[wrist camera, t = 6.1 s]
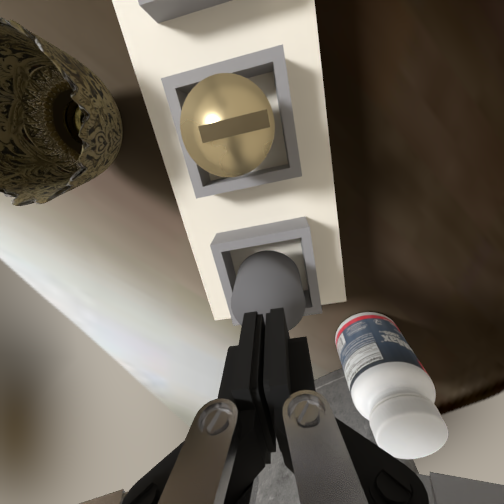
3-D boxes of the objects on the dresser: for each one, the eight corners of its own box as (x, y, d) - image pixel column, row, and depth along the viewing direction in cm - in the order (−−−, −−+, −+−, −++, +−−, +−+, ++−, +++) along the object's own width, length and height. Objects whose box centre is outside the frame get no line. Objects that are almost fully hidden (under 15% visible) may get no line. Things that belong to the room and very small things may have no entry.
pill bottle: (410, 335, 24) (482, 440, 16) (361, 368, 26) (403, 478, 17) (369, 298, 23) (424, 391, 15) (321, 335, 24) (346, 436, 16)
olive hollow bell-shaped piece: (166, 87, 18) (91, 53, 10) (141, 195, 21) (69, 229, 13) (49, 37, 17) (-120, -36, 10) (40, 156, 20) (-95, 169, 13)
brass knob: (186, 96, 13) (164, 86, 10) (265, 75, 12) (264, 58, 9) (208, 176, 14) (194, 186, 11) (280, 160, 13) (282, 167, 11)
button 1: (230, 256, 15) (222, 278, 13) (294, 245, 15) (299, 266, 13) (244, 310, 17) (240, 339, 14) (304, 301, 16) (310, 330, 14)
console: (114, -81, 15) (21, -209, 9) (283, -144, 14) (292, -335, 8) (223, 291, 23) (209, 339, 18) (333, 273, 22) (355, 319, 16)
